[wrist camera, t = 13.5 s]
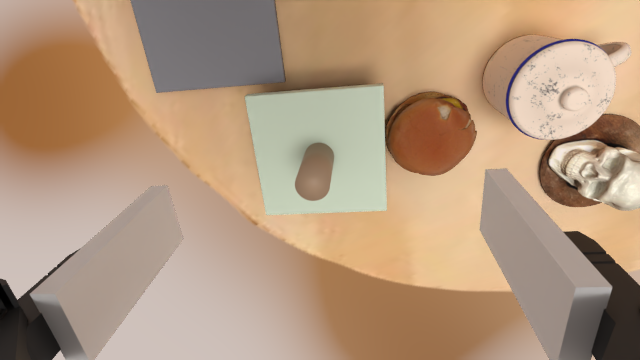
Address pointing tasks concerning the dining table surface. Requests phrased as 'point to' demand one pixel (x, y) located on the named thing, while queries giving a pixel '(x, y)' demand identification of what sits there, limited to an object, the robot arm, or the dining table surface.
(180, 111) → the dining table surface
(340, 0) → the dining table surface
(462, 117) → the burger
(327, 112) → the lid
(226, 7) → the mat
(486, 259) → the dining table surface
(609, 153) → the skull
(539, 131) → the teacup with lid
